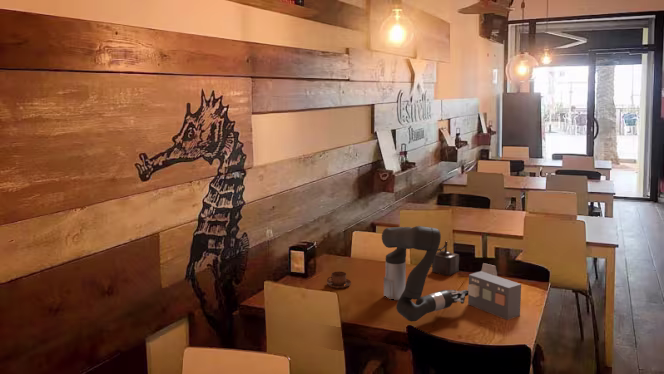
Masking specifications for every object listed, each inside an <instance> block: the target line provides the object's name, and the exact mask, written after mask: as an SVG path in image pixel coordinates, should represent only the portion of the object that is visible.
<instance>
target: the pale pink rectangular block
mask: <svg viewBox="0 0 664 374" xmlns="http://www.w3.org/2000/svg"><path fill="white" fill-rule="evenodd" d="M481 266H482V267H481V270H480V271H482V272H485V273H488V274H491V275H495V276H498V271H497V266H496V265H492V264H490V263H489V264H488V263H484V262H483V263H482V265H481Z"/></svg>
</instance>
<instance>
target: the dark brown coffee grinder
mask: <svg viewBox="0 0 664 374" xmlns="http://www.w3.org/2000/svg"><path fill="white" fill-rule="evenodd" d="M443 249H444V250H443ZM459 267H460V254H458V253H454V252H451V251H449V250H448V241H447V240H446V241H445V242H444V245H443V246H442V247H440V248H438V251H437V253H436V255H435V258H434V260H433V263H432V265H431V268H432V270H431V272H432V273H434V274H437V275H438V274H439V275H442V276H451V275H454V274H456V273H458V272H459V271H460V270H459Z"/></svg>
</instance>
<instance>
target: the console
mask: <svg viewBox="0 0 664 374" xmlns="http://www.w3.org/2000/svg"><path fill="white" fill-rule="evenodd" d="M469 284H476V285H478V286H480V296H478V297H473V296H470V295H468V296H467V300H468V301H467V304H468V305H469V306H471V307H473V308H476V309H478V310H481V311H483V312H486V313H489V314H491V315H494V316H497V317H499V318H502V319H504V320H506V321H509V320H512V319H513V318H517V317H520V316H521V304H522V303H521V301H522V299H521V298H522V283H518V282H517V281H513V280H510V279H507V278H503V277H501V276H498V275H497V276H495V275H491V274H488V273H485V272H482V271H481V270H480V271H475V272H473V273H470V274H469V273H468V285H469ZM483 288H487V289H490V290H492V301H489V300H486V299H483ZM497 292H498V293H501V294H504V295H506V298H505V306H502V305H500V304H497V303H495V294H496V293H497Z"/></svg>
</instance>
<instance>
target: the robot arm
mask: <svg viewBox="0 0 664 374" xmlns="http://www.w3.org/2000/svg"><path fill="white" fill-rule="evenodd" d="M441 239H442V236H441V232H440V230H439V229H438V228H435V227H431V226H430V227H428V226H421V225H417V226H416V225H415V226H413V227H412V226H395V227H386V228H384V230H383V231H382V233H381V241H382V243H383V245H384V247H386V248H389V249H391V248H395V249H394V250H393V251H391V252H389V253H387V254H386V255H385V276H384V277H383V297H384V296H386V297H387V298H389V299H394V300H393V301H397V302H396V308H395V309H396V311H397V313H398V314H399V315H401V316H402V317H403V318H404V319H406V320H407V321H409V322H417V321H418V320H420V319H421V318H422V317H424V316H425V315H426V314H431V313H433V312H438V311H443V310H445V309H448V308H450V307H451V306H452V305H453V304H456V303H458V302H460V304H463V305H464V304H465V300H466V298H465V297H468V289H464V290H463V289H462V290H456V289H442V290H439V291H436V292H432V293H430V294H427V295H422V293H423V291H424V286H425V283H426V279H427V277H428V273H429V272H430V268H432V263H433V260H434V258H435V255H436V253H437V252H439V251H438V249H440V248H439V247H440V245H441ZM410 249H414V250H418V251H424V252H425V253H424V256H423V258H422V259H421V260H420V262H418V263H417V264H416V265H415V267H414V268H412V270H411V271H410V272H409V273H408V276H407V278H406V268H407V267H406V266H407V264H406V263H407V260H406V259H407V250H410ZM386 297H385V298H386ZM387 298H386V299H387ZM389 299H388V300H389ZM412 300H415V302H413V301H412Z"/></svg>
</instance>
